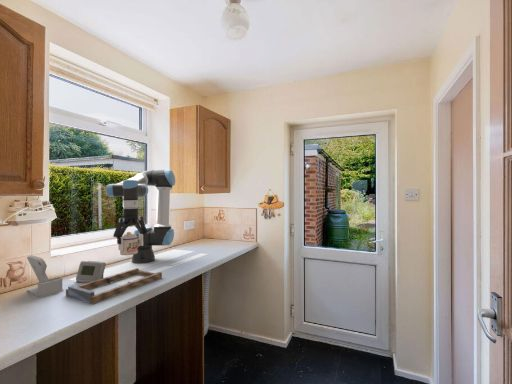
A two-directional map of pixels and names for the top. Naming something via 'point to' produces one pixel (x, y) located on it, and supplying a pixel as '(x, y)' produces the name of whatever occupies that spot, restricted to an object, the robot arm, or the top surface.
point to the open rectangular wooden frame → (88, 296)
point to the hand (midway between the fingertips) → (131, 247)
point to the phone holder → (43, 279)
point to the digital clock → (90, 271)
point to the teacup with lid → (130, 244)
